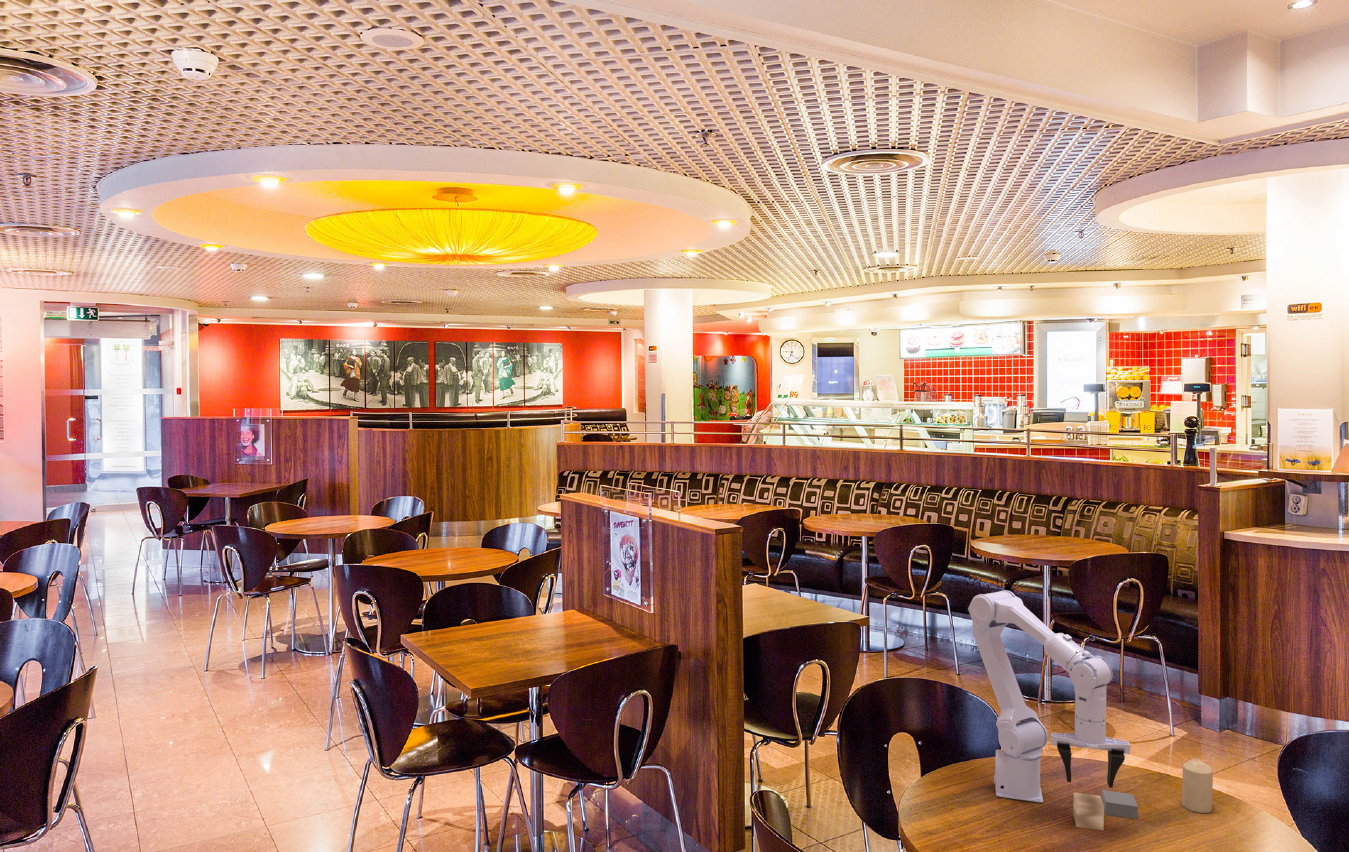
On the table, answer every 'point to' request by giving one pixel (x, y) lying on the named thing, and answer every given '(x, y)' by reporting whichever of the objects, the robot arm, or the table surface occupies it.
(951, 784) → the table surface
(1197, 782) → the candle
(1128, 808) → the gray block
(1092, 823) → the beech cube
